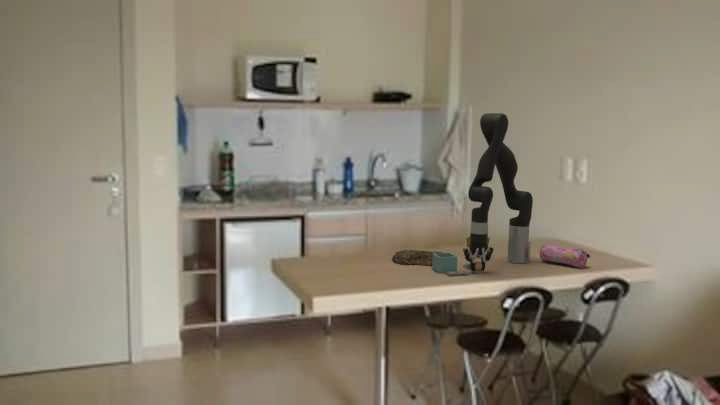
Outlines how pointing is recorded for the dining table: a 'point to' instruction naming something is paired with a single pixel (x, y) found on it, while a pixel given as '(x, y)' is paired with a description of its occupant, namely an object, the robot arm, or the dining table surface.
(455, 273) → the card
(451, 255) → the teal open box
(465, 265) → the frame
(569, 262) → the pencil case
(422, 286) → the dining table surface
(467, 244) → the flower pot
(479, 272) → the frame
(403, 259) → the stone relief
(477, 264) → the ball
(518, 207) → the robot arm
